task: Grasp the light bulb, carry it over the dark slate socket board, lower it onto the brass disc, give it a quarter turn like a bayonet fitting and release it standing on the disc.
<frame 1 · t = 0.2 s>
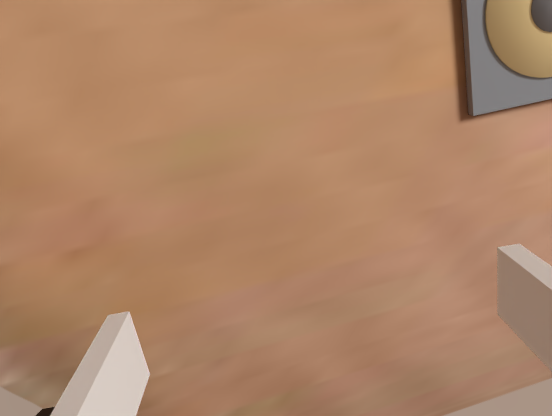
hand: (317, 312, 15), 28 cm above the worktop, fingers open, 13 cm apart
socket board: (546, 6, 38), on the worktop
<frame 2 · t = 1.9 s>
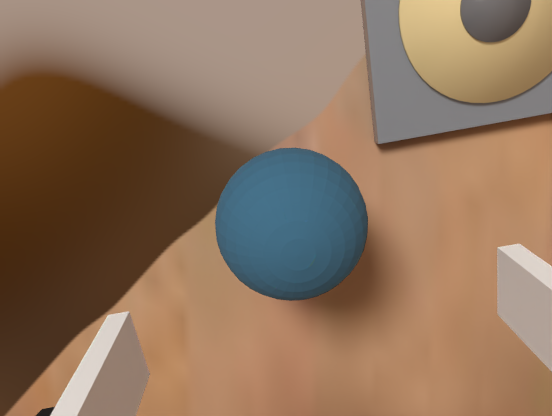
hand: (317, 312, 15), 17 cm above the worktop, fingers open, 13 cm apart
socket board: (484, 7, 28), on the worktop
light bulb: (282, 184, 32), on the worktop
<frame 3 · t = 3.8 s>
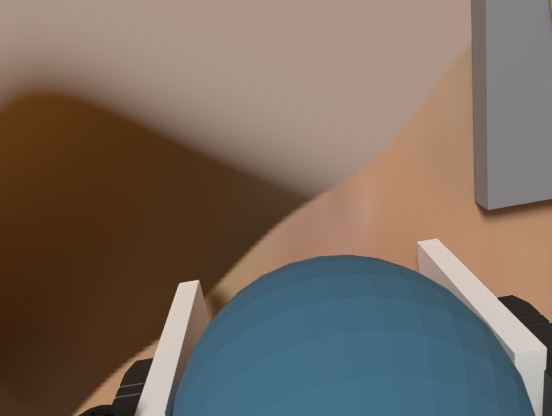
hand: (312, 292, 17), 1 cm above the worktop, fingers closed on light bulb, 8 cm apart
light bulb: (308, 273, 18), on the worktop, touching gripper
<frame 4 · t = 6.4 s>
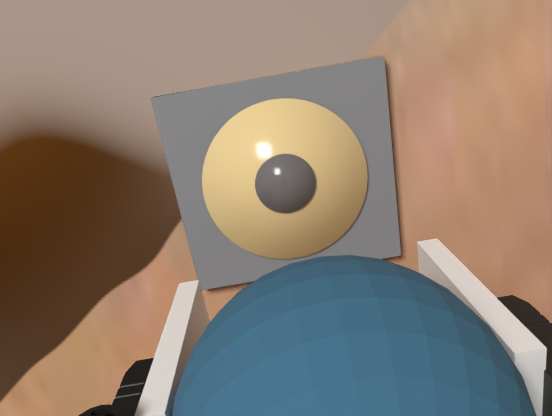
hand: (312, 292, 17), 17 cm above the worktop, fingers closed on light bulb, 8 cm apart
socket board: (284, 178, 33), on the worktop
light bulb: (308, 273, 18), point 15 cm above the worktop, touching gripper
when the fingers open (4 cm above the worktop, at t = 9.3 s): light bulb stays where it is, resting on socket board.
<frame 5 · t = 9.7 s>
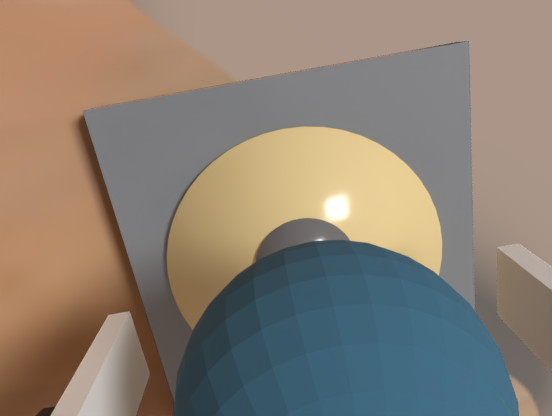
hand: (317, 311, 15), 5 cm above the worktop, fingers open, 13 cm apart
socket board: (302, 252, 20), on the worktop
light bulb: (304, 263, 19), point 1 cm above the worktop, touching socket board
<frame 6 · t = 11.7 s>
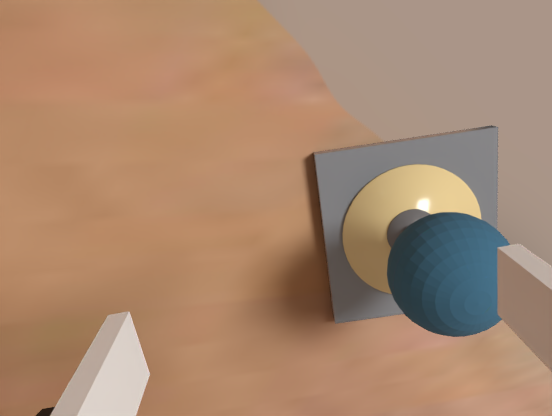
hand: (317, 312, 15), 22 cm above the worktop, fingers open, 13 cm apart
socket board: (407, 227, 39), on the worktop
light bulb: (411, 232, 37), point 1 cm above the worktop, touching socket board
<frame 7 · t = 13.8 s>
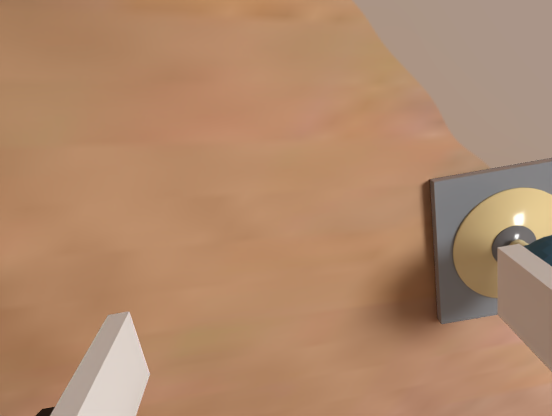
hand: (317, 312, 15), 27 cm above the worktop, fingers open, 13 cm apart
socket board: (506, 240, 45), on the worktop
light bulb: (513, 245, 43), point 1 cm above the worktop, touching socket board
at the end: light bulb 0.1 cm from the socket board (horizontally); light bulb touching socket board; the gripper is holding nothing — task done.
